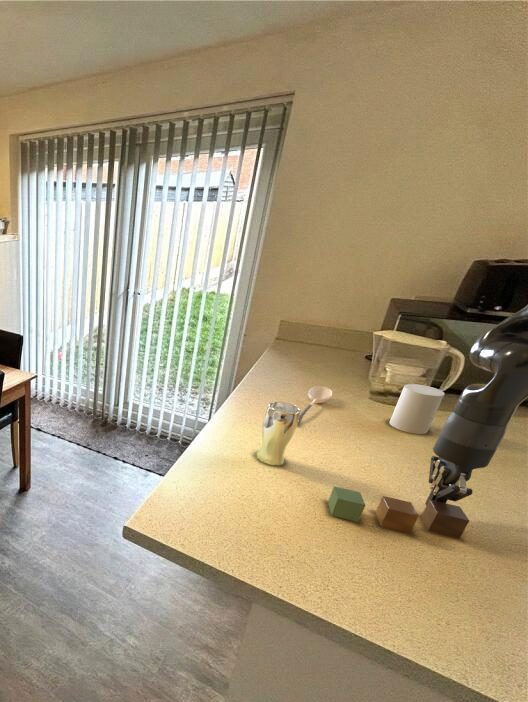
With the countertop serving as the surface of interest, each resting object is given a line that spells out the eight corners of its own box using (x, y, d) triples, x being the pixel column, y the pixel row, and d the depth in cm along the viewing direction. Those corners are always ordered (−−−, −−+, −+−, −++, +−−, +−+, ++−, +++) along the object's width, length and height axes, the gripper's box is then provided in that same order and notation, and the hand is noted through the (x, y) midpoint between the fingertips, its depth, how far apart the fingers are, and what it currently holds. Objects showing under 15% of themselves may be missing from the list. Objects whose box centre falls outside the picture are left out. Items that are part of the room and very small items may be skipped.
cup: (433, 435, 110) (451, 397, 105) (397, 431, 113) (413, 393, 108) (418, 422, 117) (434, 386, 112) (384, 418, 120) (398, 382, 115)
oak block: (403, 519, 81) (411, 502, 79) (410, 533, 77) (419, 516, 75) (375, 512, 83) (382, 495, 81) (380, 526, 79) (388, 508, 77)
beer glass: (271, 450, 105) (285, 399, 99) (292, 464, 99) (308, 412, 93) (248, 452, 104) (261, 402, 98) (268, 468, 98) (283, 415, 92)
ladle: (333, 397, 132) (337, 385, 129) (303, 438, 117) (307, 426, 115) (312, 391, 136) (315, 379, 134) (280, 430, 121) (283, 418, 119)
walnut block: (450, 524, 79) (460, 506, 78) (459, 538, 76) (469, 520, 74) (420, 516, 81) (429, 499, 80) (428, 530, 78) (437, 512, 76)
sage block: (353, 508, 84) (360, 492, 82) (358, 522, 80) (365, 505, 78) (327, 502, 86) (333, 486, 84) (331, 515, 82) (337, 498, 80)
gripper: (515, 460, 68) (471, 535, 75) (481, 426, 78) (445, 495, 85) (455, 449, 71) (418, 522, 78) (430, 418, 82) (399, 485, 89)
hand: (432, 508), depth 82 cm, fingers closed
